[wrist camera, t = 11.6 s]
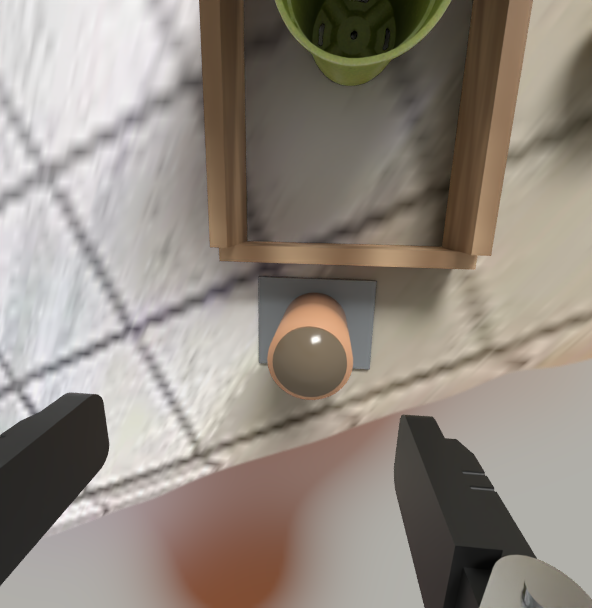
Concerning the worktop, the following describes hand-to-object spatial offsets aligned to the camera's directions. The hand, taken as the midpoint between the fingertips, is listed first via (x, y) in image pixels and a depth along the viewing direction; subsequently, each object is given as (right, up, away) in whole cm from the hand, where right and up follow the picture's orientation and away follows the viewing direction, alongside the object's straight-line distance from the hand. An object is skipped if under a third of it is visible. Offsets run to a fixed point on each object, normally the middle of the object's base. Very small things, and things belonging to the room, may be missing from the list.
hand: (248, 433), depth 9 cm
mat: (+3, +2, +21) cm, 22 cm away
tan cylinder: (+3, +2, +21) cm, 21 cm away
